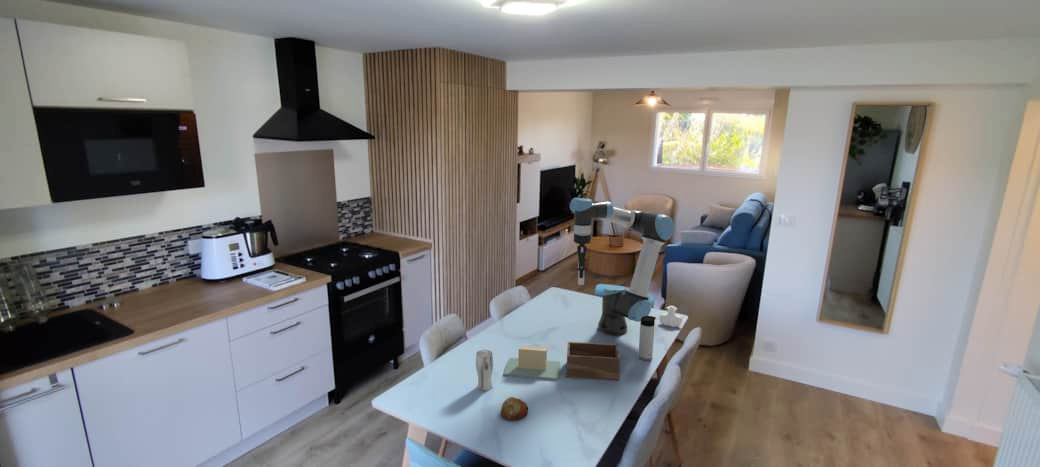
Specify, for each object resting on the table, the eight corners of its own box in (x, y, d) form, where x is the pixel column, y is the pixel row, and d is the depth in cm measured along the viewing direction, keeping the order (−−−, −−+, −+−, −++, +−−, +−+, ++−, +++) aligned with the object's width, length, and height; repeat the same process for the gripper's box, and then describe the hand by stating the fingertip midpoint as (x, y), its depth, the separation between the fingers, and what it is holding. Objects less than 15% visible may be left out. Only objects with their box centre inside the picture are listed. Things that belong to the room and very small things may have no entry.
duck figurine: (681, 330, 260) (684, 310, 265) (681, 326, 254) (683, 305, 258) (658, 326, 265) (661, 307, 269) (657, 322, 258) (660, 302, 263)
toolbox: (567, 362, 219) (567, 341, 217) (616, 365, 217) (617, 344, 215) (566, 377, 206) (567, 355, 204) (619, 380, 203) (620, 359, 201)
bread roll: (504, 415, 185) (495, 398, 183) (529, 404, 185) (520, 387, 183) (506, 431, 175) (496, 413, 174) (532, 419, 175) (522, 401, 173)
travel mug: (653, 361, 220) (656, 320, 216) (638, 360, 222) (641, 319, 217) (652, 355, 226) (655, 315, 222) (638, 353, 228) (640, 313, 223)
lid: (509, 360, 221) (509, 339, 219) (559, 364, 218) (560, 343, 216) (503, 377, 207) (503, 354, 205) (557, 381, 204) (557, 358, 201)
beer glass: (495, 384, 200) (495, 350, 197) (489, 393, 194) (489, 358, 190) (480, 381, 202) (479, 348, 199) (473, 389, 196) (472, 355, 193)
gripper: (574, 227, 227) (572, 271, 231) (573, 239, 202) (572, 288, 207) (590, 228, 226) (588, 272, 230) (591, 240, 202) (589, 288, 206)
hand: (580, 279), depth 219 cm, fingers open, 13 cm apart
